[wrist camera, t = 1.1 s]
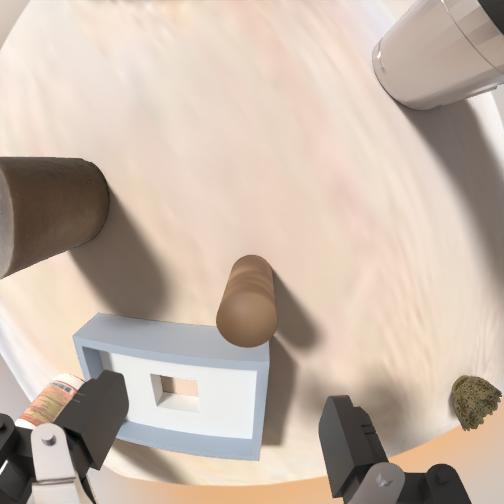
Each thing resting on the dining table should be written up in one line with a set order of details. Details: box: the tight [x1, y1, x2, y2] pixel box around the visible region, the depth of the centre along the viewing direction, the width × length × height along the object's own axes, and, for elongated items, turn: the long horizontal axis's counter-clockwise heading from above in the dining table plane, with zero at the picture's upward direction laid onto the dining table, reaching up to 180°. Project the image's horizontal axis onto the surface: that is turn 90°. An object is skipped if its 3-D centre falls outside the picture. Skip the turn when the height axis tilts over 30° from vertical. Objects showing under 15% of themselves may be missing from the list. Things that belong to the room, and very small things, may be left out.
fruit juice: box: [0, 374, 85, 504], centre depth 20 cm, size 9×9×28 cm
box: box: [72, 313, 270, 461], centre depth 28 cm, size 20×16×6 cm
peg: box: [216, 255, 277, 348], centre depth 23 cm, size 4×4×10 cm
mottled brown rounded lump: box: [453, 375, 502, 431], centre depth 27 cm, size 8×7×8 cm
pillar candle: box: [0, 157, 109, 279], centre depth 19 cm, size 10×10×15 cm
